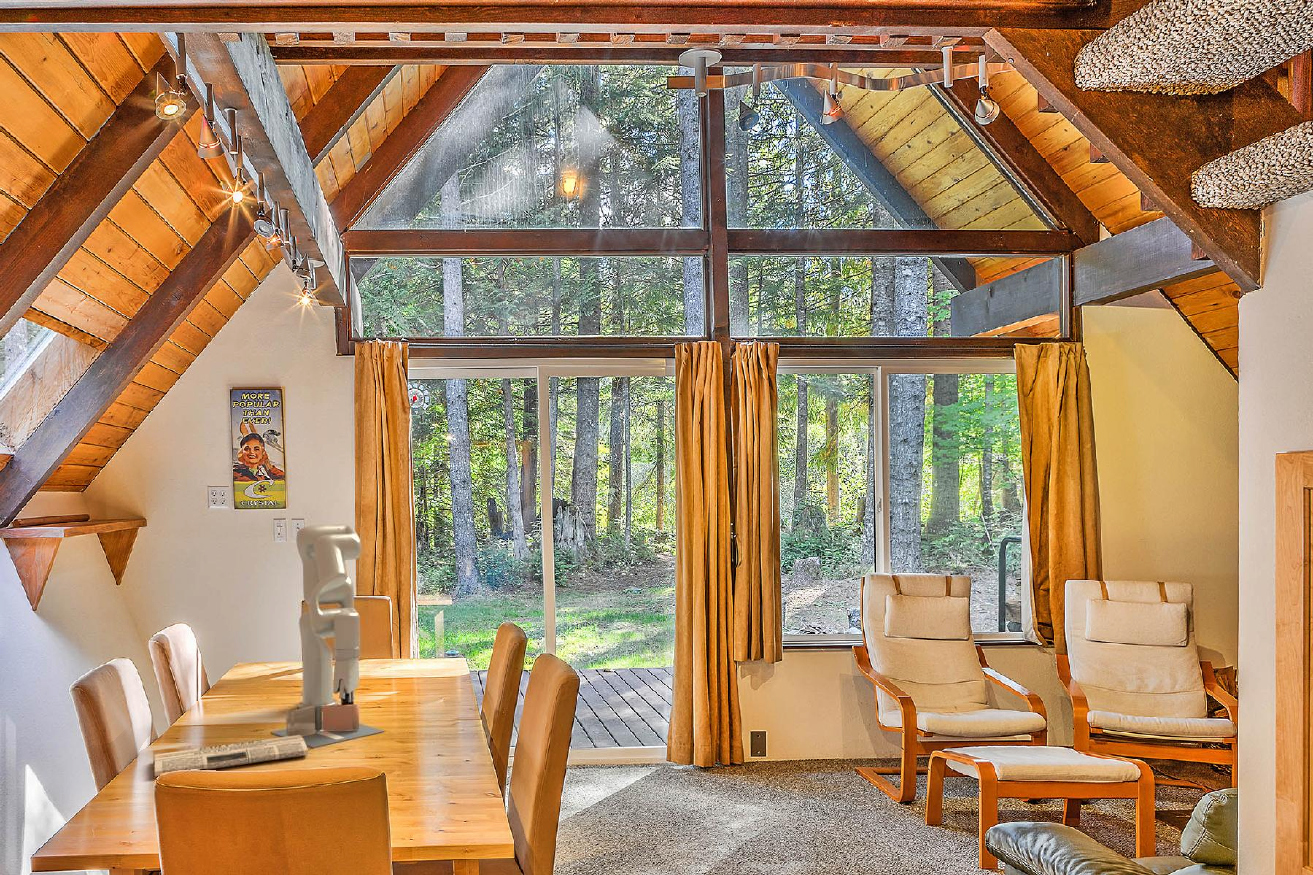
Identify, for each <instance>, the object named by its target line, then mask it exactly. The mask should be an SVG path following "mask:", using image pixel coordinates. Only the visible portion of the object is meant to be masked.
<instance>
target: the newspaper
mask: <svg viewBox="0 0 1313 875" xmlns="http://www.w3.org/2000/svg"><path fill="white" fill-rule="evenodd" d="M308 752H309V749H308V746H306V744H305V742H304V739H303V738H302V737H301V735H295V736H288V737H276V738H274V737H273V738H268V739H267V738H266V739H261V740H253V741H245V742H237V743H231V744H230V743H229V744H223V745H215V746H208V747H200V748H194V749H193V748H192V749H185V750H178V751H173V752H172V751H171V752H163V753H156V754H154V777H155V778H157V776H158V775H160V774H162V773H165V772H172V771H178V770H191V769H207V770H213V769H219V768H226V767H227V768H228V767H234V766H240V765H246V764H247V765H248V764H253V763H261V762H266V761H267V762H268V761H275V760H280V759H281V760H282V759H283V760H284V759H289V758H296V757H302V756H303V757H304V756H308V755H309V753H308ZM158 777H159V776H158Z"/></svg>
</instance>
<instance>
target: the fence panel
mask: <svg viewBox="0 0 1313 875" xmlns="http://www.w3.org/2000/svg"><path fill="white" fill-rule="evenodd" d="M322 721H323V730H358V729H359V723H360V704H354V705H341V704H337V705H324V706H322V705H317V706H315V731H319V730H322Z"/></svg>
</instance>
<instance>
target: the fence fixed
mask: <svg viewBox="0 0 1313 875" xmlns="http://www.w3.org/2000/svg"><path fill="white" fill-rule="evenodd" d="M285 713H286V714H285V716H286V721H285V722H286V723H285V724H286V727H285V729H286V737H288V736H295V735H301V736H302V735H307V734H311V733H315V707H307V708H302V709H300V708H298V709H293V710H287V711H286V712H285Z"/></svg>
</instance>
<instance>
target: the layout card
mask: <svg viewBox="0 0 1313 875" xmlns="http://www.w3.org/2000/svg"><path fill="white" fill-rule="evenodd" d="M270 733H271V735H272V734H273V735H275V736H278V737H279V738H281V737H286V728H283V729H278V730H273V731H270ZM382 733H385V730H383V729H379V728H376V727H373V726H369V725H366V724H362V723H361V722H359V729H358V730H323V720H322V730H319V731H315V733H311V734H307V735H302V736H301V737H302V738H303V739H304V742H305V744H306V746H307V748H308V747H309V748H312V749H316V748H320V747H323V746H325V747H326V746H329V745H333V744H337V743H341V742H346V741H351V740H354V739H355V740H356V739H359V738H364V737H368V736H373V735H377V734H382Z"/></svg>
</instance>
